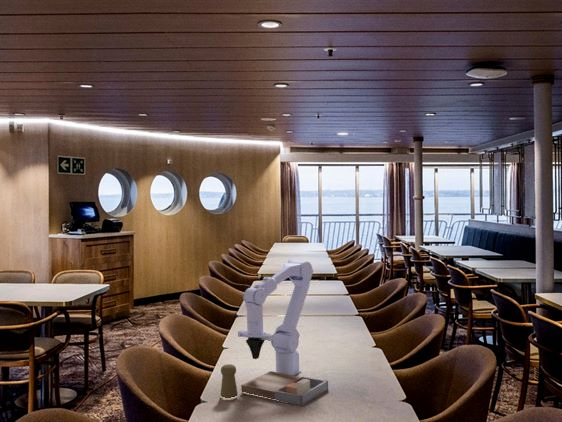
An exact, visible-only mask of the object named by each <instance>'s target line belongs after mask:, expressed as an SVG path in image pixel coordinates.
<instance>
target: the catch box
mask: <svg viewBox="0 0 562 422" xmlns="http://www.w3.org/2000/svg"><path fill="white" fill-rule="evenodd" d="M301 377H302V379H307V380H310V390H309V391H307V392H305V393H304V394H302V395H297V394H292V393H287V392H282V391H277V390H276V391H275V399H276V400H279V401H283V402H282V403H284V402H287V403H286V404H288V403H291V404H290V405H293V404H295V405H294V406H298V405H299V406H298V407H304V406H305V405H306V404H308V403H309V402H311V401H313V400H314V399H316V398H317V396H318V397H319V396H321V395H323V394H324V393H325V391H326V392H327V391H328V390H329V381H328V380H325V379H320V378H313V377H308V376H301ZM320 394H321V395H320ZM312 399H313V400H312ZM279 401H278V402H279ZM307 402H308V403H307ZM304 404H305V405H304Z"/></svg>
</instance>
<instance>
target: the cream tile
mask: <svg viewBox="0 0 562 422" xmlns="http://www.w3.org/2000/svg"><path fill="white" fill-rule="evenodd" d="M309 390H310V380H307V379H302V380H300V381H298V382H297V395H302V394H304V393H305V392H307V391H309Z"/></svg>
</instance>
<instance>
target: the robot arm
mask: <svg viewBox="0 0 562 422" xmlns="http://www.w3.org/2000/svg"><path fill="white" fill-rule="evenodd" d="M313 273H314V269H313V265H312V264H311V262H309V261H306V260H305V261H302V260H293V259H292V260H290V259H289V260H288V261H287V262H285V263H284V264H283V267H281V269H279V270H278V271H277V272H276V273H275V274H274V275H272V276H271V277H270V276H263V278H262V280H261V281H260V282H258V283H256V284H254V286H253V287H248V288H246V289H245V291H244V293H243V296H242V299H243V302H244V304H245V307H246V328H247V330H239V331H237V337H238V338H241V337H242V338H247V339H246V340H245V342H246V344H247V346H248V347H249V350H250V353H251V357H252V359H253V360H257V359H259V358H260V353H261V349H262V347H263V344H264V343H265V341H268V342H270V343H271V346H272V347H273V349H274V351H275V372H277V373H283V374H289V375H294V376H296V375H297V374H299V373H301V372H302V370H301V369H300V354H299V352H298V350H297V349H298V347H299V343H300V340H299V338H300V333H299V331H298V329H297V326H298V323H299V320H300V317H301V314H302V310H303V307H304V304H305V300H306V297H307V295H308V292H309V288H310V284H311V283H310V282H311V279H312V277H313ZM288 278H289V280H290V281H291V283H293V285H294V288H293V291H292V294H291V296H290V300H289V303H288V306H287V310H286V313H285V314H284V318H283V322H282V324H280V325H279V326H277V327H276V329H275V331H274V333H273V334H271V333H267V332H264V316H263V315H264V314H263V313H264V312H263V308H264V307H263V304H265V302H266V299H267V298H268V296H269V295H271V294H272V293H273V292H275V291H276V290H277V287H278V285H279V284H280V283H282V282H283V281H285V280H287V279H288Z"/></svg>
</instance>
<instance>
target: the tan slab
mask: <svg viewBox="0 0 562 422" xmlns="http://www.w3.org/2000/svg"><path fill="white" fill-rule="evenodd" d="M300 380H302V376H298V375H289V374H283V373H277V372H276V371H268V372H265V373H264V374H262V375H260V376H259V375H258V377H255V378H253V379H251V380H249V381H247V382H245V383H242V384H241V385H240V387H241V390H240V391H242V392H246V393H249V394H254V395H258V396H263V397H267V398H271V399H275V391H276V390H277V391H282V392H286V386H287V385H289V384H291V383H292V382H293V383H297V382H298V381H300Z"/></svg>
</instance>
